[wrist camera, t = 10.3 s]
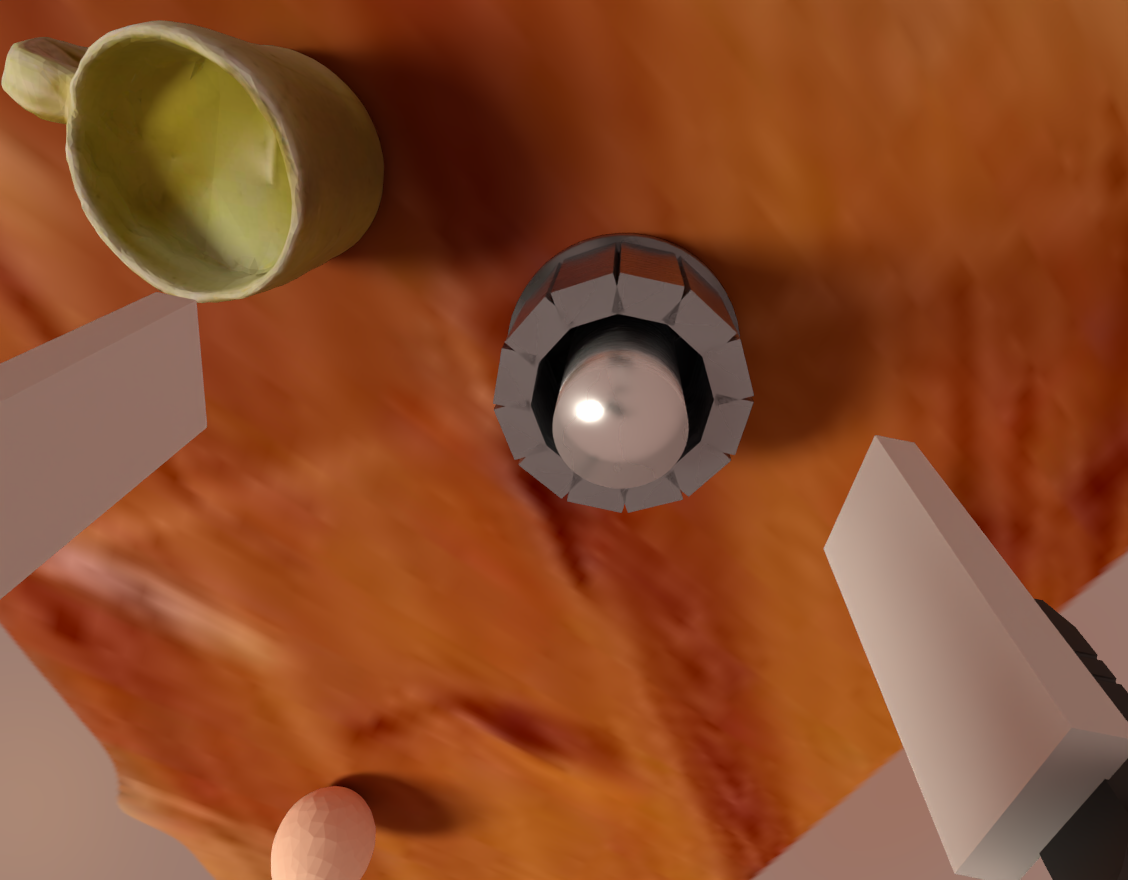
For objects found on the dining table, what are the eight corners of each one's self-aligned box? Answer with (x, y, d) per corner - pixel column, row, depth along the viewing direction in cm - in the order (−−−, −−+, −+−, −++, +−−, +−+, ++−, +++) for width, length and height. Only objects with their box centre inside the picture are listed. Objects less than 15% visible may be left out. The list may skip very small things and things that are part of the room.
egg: (351, 835, 53) (309, 949, 46) (282, 788, 51) (227, 900, 44) (407, 800, 50) (371, 916, 43) (337, 751, 48) (287, 863, 41)
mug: (465, 128, 28) (284, 184, 20) (371, 293, 34) (209, 381, 27) (239, -99, 27) (-37, -129, 19) (188, 115, 34) (-32, 154, 26)
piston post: (530, 209, 31) (495, 249, 23) (769, 261, 31) (819, 319, 23) (494, 425, 36) (456, 521, 28) (700, 469, 36) (721, 576, 28)
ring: (537, 222, 30) (517, 250, 25) (758, 270, 30) (786, 308, 25) (503, 423, 35) (480, 482, 29) (695, 464, 35) (708, 531, 29)
